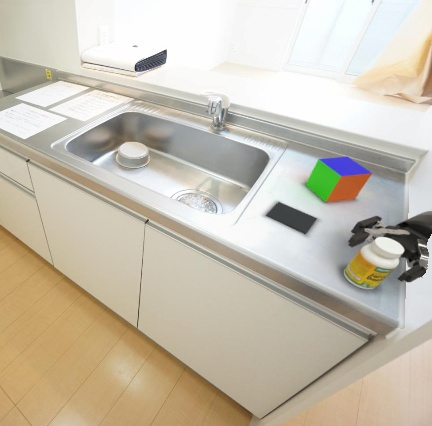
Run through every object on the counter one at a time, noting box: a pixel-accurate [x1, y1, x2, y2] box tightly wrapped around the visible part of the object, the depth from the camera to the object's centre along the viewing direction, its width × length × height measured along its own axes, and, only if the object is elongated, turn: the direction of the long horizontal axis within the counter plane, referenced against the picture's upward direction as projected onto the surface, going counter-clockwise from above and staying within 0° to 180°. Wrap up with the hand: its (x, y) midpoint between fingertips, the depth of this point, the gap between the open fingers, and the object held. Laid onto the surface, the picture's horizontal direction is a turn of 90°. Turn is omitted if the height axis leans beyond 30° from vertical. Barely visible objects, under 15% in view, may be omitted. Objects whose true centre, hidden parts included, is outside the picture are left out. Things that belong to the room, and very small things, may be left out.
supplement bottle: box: [343, 237, 404, 290], centre depth 51 cm, size 5×5×10 cm
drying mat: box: [266, 201, 318, 235], centre depth 67 cm, size 9×7×1 cm
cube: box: [304, 156, 373, 203], centre depth 72 cm, size 8×8×8 cm
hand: (375, 259), depth 50 cm, fingers open, 8 cm apart
